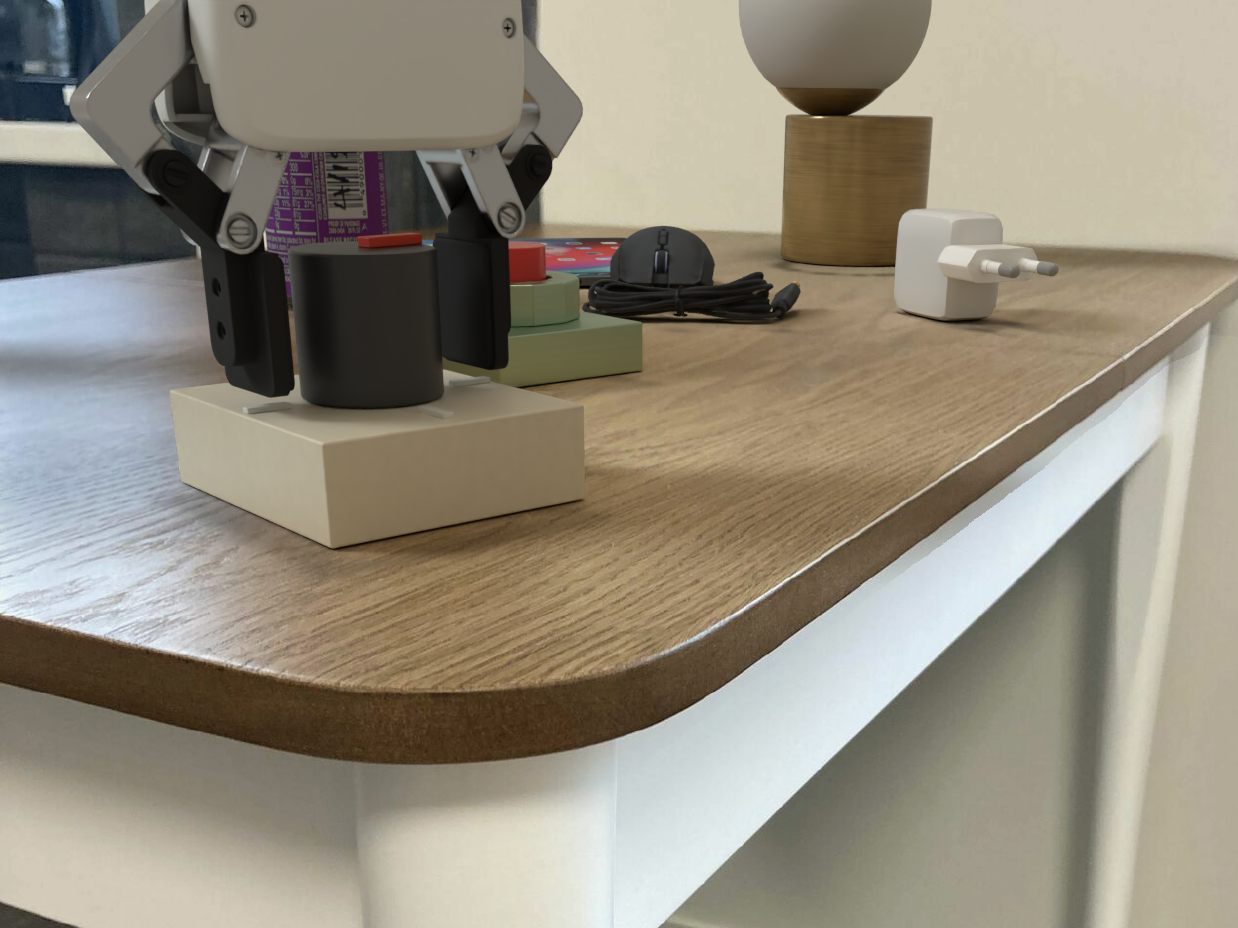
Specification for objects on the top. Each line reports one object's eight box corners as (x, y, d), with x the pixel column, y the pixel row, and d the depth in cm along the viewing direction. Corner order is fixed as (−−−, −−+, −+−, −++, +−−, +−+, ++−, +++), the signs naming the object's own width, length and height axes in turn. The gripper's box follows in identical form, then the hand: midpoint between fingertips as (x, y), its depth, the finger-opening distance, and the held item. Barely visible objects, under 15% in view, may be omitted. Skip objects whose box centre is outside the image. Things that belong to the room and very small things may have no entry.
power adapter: (1065, 333, 81) (1078, 221, 79) (993, 338, 79) (1004, 223, 77) (948, 307, 90) (956, 206, 88) (881, 311, 88) (887, 207, 86)
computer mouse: (807, 285, 98) (810, 221, 96) (794, 327, 82) (797, 252, 80) (624, 280, 99) (624, 216, 97) (576, 320, 83) (575, 246, 81)
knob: (364, 415, 43) (351, 247, 41) (271, 395, 46) (256, 237, 44) (473, 394, 46) (466, 237, 45) (381, 377, 49) (370, 228, 47)
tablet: (430, 290, 94) (430, 277, 94) (392, 250, 116) (391, 239, 116) (716, 285, 99) (717, 272, 99) (628, 247, 121) (628, 237, 121)
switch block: (380, 359, 70) (374, 272, 69) (517, 343, 75) (515, 262, 74) (500, 390, 64) (496, 294, 62) (643, 370, 68) (643, 281, 67)
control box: (179, 481, 48) (167, 384, 47) (417, 444, 54) (412, 356, 52) (331, 549, 41) (321, 437, 40) (586, 499, 47) (584, 398, 45)
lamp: (778, 272, 107) (792, -123, 97) (705, 253, 119) (711, -100, 109) (959, 266, 112) (990, -110, 102) (872, 248, 124) (892, -89, 114)
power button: (452, 283, 68) (450, 243, 67) (516, 278, 70) (515, 239, 70) (497, 291, 66) (495, 250, 65) (561, 285, 68) (561, 245, 67)
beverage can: (410, 298, 91) (397, 86, 86) (367, 314, 85) (352, 86, 80) (301, 294, 92) (283, 85, 87) (251, 309, 86) (229, 84, 81)
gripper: (511, -238, 47) (528, 337, 54) (-71, -342, 36) (45, 390, 43) (665, -277, 42) (662, 364, 49) (39, -412, 31) (150, 433, 38)
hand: (371, 372), depth 46 cm, fingers open, 6 cm apart
